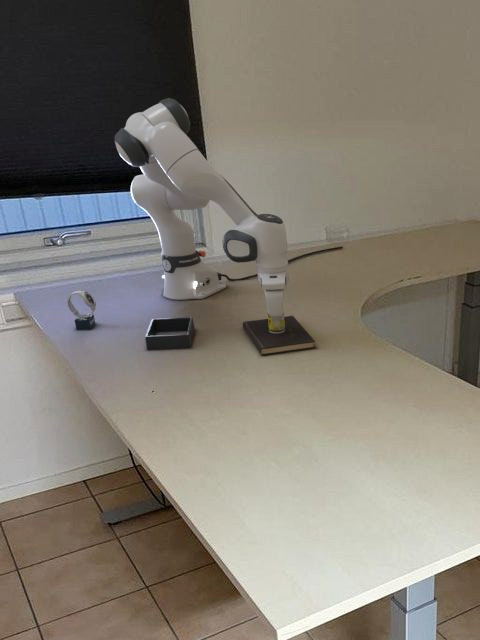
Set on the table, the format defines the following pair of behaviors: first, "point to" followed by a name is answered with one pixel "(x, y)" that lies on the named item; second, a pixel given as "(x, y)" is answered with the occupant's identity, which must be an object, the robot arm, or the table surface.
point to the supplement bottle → (280, 328)
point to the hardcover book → (278, 337)
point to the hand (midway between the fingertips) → (276, 322)
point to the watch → (83, 319)
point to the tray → (170, 340)
